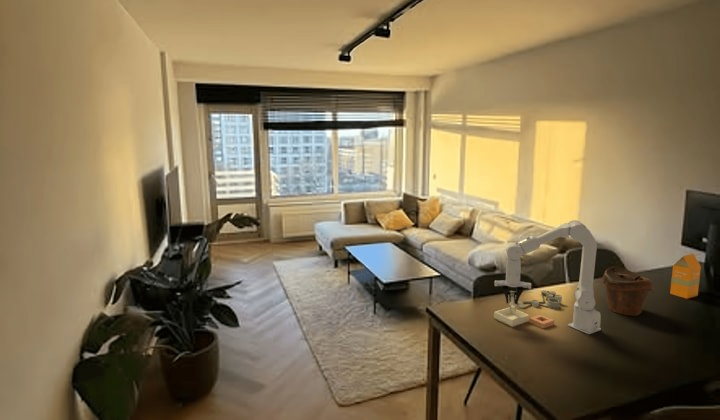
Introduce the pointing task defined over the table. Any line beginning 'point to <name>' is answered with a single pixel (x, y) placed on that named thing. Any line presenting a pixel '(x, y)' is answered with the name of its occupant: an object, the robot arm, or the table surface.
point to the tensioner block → (541, 321)
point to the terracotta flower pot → (626, 290)
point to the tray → (511, 317)
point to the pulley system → (550, 303)
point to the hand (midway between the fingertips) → (511, 303)
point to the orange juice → (686, 277)
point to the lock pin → (512, 300)
